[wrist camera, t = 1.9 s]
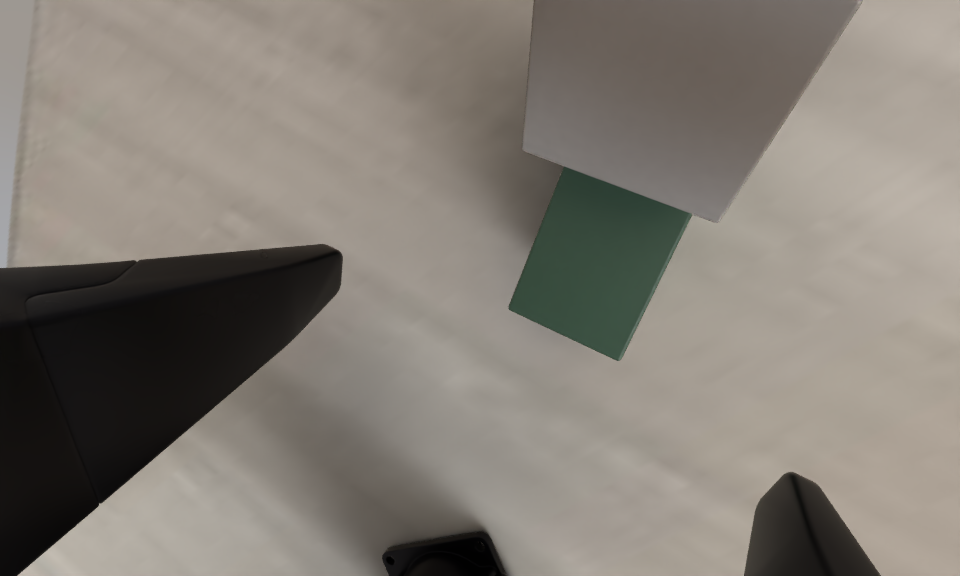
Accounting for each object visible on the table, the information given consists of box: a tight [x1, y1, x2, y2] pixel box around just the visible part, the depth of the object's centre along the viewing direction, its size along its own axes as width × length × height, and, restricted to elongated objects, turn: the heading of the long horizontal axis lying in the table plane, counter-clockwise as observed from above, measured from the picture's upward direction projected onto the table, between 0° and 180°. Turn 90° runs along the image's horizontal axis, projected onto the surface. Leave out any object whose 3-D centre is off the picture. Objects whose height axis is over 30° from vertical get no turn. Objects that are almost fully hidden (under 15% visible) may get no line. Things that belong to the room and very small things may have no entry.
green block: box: [509, 167, 692, 361], centre depth 16 cm, size 7×3×7 cm, turn 159°
